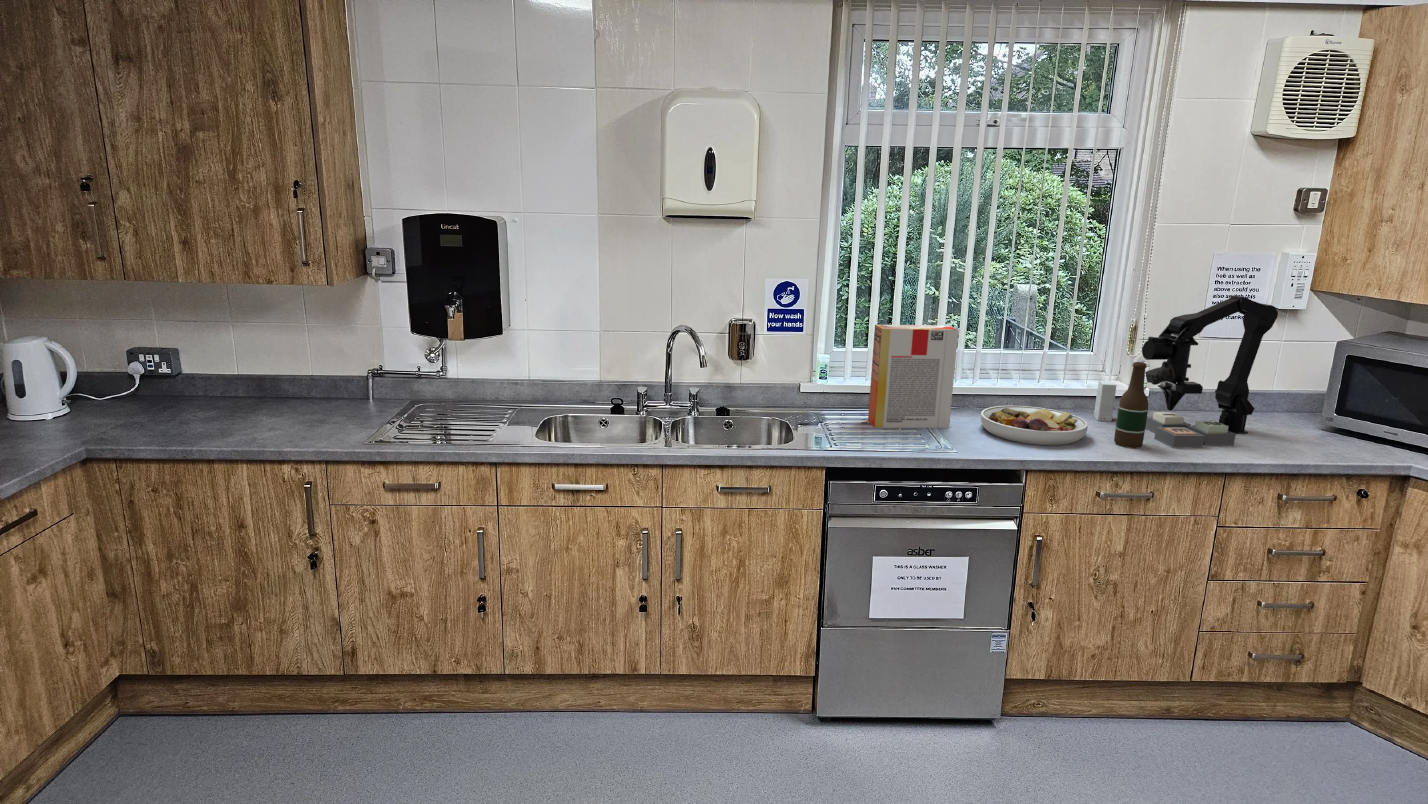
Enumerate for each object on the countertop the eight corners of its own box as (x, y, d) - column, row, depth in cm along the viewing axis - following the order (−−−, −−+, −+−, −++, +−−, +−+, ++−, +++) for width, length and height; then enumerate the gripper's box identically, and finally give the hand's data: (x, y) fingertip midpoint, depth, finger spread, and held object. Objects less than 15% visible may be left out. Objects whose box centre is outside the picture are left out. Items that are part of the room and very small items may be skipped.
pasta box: (940, 420, 266) (949, 325, 259) (948, 427, 259) (958, 329, 251) (867, 420, 265) (874, 324, 257) (874, 427, 257) (881, 328, 250)
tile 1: (1170, 419, 263) (1172, 411, 262) (1182, 425, 257) (1184, 416, 257) (1152, 419, 262) (1153, 411, 262) (1164, 425, 257) (1165, 416, 256)
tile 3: (1182, 435, 251) (1183, 427, 251) (1195, 441, 246) (1196, 432, 245) (1162, 435, 251) (1164, 427, 250) (1175, 441, 245) (1176, 432, 244)
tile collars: (1192, 427, 266) (1193, 416, 265) (1238, 447, 246) (1240, 435, 245) (1131, 427, 264) (1132, 416, 263) (1172, 447, 244) (1174, 435, 243)
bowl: (975, 417, 273) (977, 393, 271) (1074, 425, 267) (1078, 400, 265) (984, 443, 244) (986, 417, 242) (1095, 452, 238) (1099, 425, 236)
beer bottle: (1107, 440, 249) (1119, 360, 244) (1133, 440, 250) (1145, 360, 244) (1122, 448, 242) (1134, 365, 236) (1148, 448, 243) (1161, 365, 237)
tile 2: (1213, 428, 254) (1214, 420, 253) (1227, 434, 248) (1228, 425, 248) (1194, 428, 253) (1195, 420, 253) (1207, 434, 248) (1209, 425, 247)
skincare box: (1111, 421, 271) (1117, 385, 268) (1097, 420, 271) (1102, 384, 268) (1107, 417, 276) (1112, 381, 273) (1093, 416, 277) (1098, 380, 274)
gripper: (1134, 353, 263) (1127, 402, 267) (1171, 365, 245) (1163, 418, 249) (1168, 353, 264) (1160, 402, 268) (1207, 366, 246) (1199, 418, 250)
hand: (1169, 410), depth 259 cm, fingers closed
